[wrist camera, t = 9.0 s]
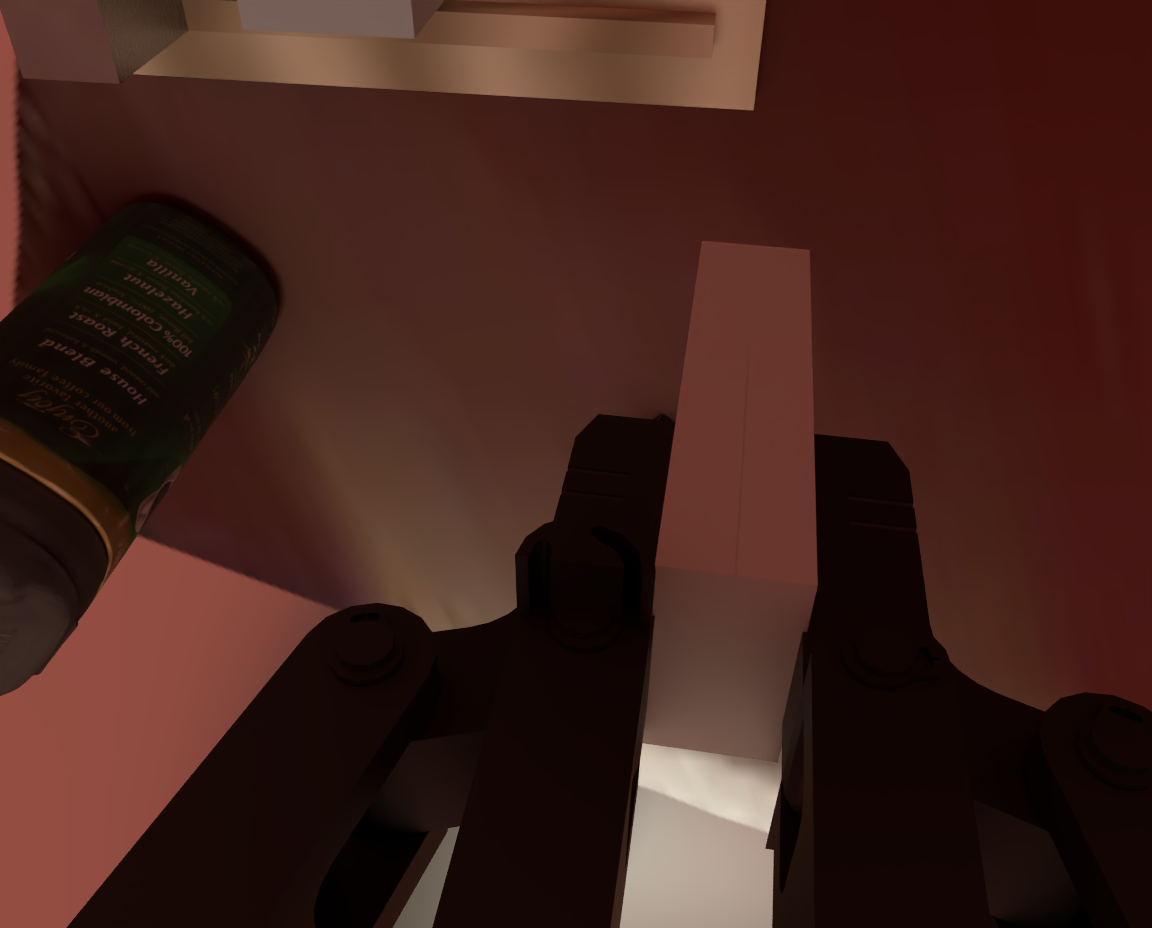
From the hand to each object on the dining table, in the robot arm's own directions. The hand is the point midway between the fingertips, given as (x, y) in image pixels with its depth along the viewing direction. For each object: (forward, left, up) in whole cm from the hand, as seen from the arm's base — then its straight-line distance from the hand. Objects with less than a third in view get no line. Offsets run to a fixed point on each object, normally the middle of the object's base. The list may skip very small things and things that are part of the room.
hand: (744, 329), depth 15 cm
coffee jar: (+23, +15, -23) cm, 35 cm away
